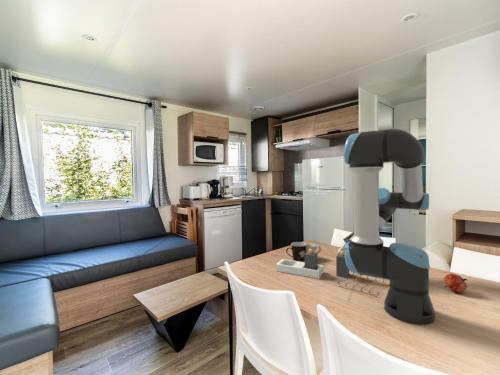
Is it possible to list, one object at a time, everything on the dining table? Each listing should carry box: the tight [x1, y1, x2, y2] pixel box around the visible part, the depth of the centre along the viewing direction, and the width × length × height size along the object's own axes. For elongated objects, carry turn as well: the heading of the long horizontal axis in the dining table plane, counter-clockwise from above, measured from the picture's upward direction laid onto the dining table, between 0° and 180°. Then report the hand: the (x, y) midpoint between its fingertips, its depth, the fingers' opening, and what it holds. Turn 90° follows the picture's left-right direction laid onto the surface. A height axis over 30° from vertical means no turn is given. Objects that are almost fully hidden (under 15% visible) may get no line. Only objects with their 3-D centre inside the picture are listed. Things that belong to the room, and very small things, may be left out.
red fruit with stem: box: [443, 273, 468, 294], centre depth 104 cm, size 7×7×10 cm
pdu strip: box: [275, 258, 325, 280], centre depth 128 cm, size 9×22×4 cm, turn 60°
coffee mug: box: [285, 241, 308, 262], centre depth 144 cm, size 12×9×10 cm
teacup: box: [306, 243, 322, 255], centre depth 148 cm, size 14×11×8 cm
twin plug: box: [304, 249, 319, 270], centre depth 124 cm, size 5×5×12 cm
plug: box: [335, 251, 350, 279], centre depth 122 cm, size 5×5×12 cm
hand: (347, 257), depth 123 cm, fingers open, 13 cm apart
